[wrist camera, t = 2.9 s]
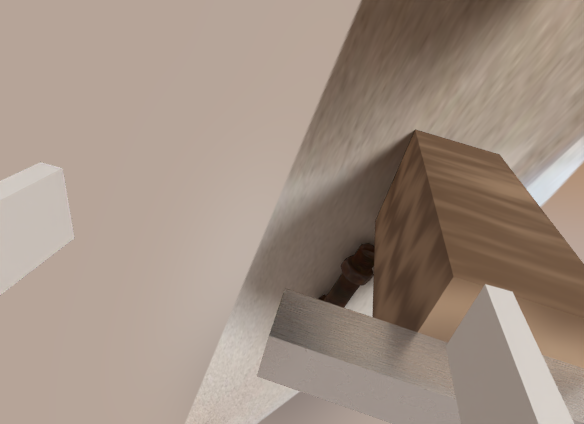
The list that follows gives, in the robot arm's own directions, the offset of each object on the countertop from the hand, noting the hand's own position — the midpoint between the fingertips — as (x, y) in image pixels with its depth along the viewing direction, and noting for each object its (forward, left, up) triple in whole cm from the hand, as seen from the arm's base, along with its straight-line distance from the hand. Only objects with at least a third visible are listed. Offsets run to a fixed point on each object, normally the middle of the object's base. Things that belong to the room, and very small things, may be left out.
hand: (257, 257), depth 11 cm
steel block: (+11, +11, -9) cm, 18 cm away
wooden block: (+11, +15, -37) cm, 42 cm away
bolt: (+29, +10, -37) cm, 49 cm away
